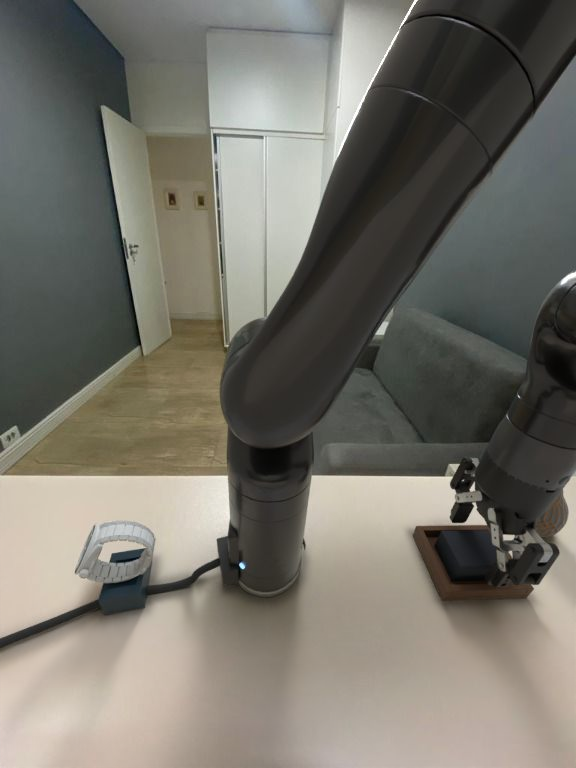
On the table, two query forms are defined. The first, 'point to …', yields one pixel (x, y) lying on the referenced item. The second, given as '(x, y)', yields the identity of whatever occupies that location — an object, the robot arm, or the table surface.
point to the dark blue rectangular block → (466, 554)
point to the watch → (118, 565)
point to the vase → (553, 518)
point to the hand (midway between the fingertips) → (473, 549)
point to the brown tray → (460, 589)
